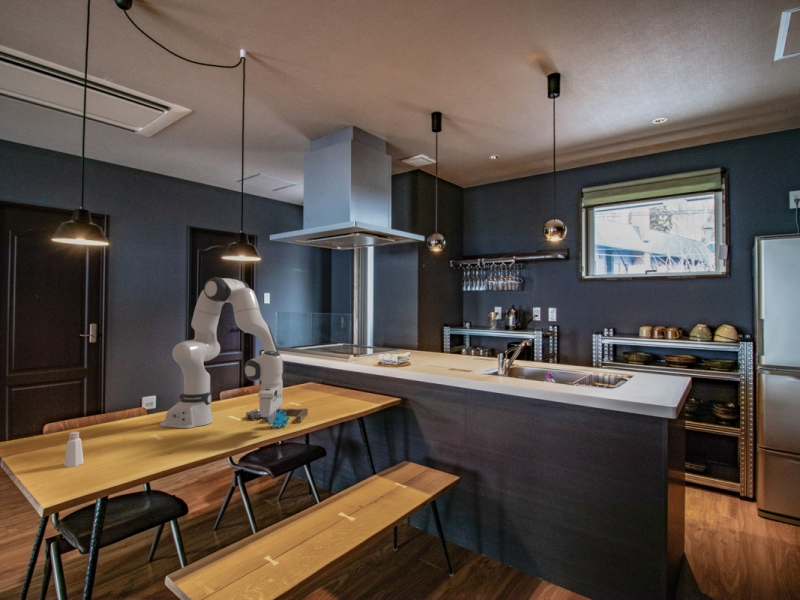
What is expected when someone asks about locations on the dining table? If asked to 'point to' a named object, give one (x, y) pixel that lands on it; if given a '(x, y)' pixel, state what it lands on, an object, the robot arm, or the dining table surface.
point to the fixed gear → (254, 414)
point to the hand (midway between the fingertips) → (272, 422)
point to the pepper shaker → (74, 451)
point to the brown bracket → (299, 412)
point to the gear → (279, 419)
